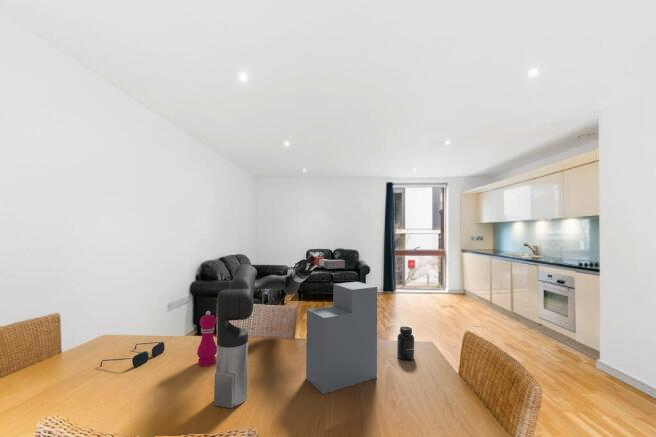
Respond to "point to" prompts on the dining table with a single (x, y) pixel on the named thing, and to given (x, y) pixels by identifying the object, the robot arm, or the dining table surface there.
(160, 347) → the sunglasses
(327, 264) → the grey red bar
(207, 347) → the pepper mill
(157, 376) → the dining table surface
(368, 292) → the stand
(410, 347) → the supplement bottle
